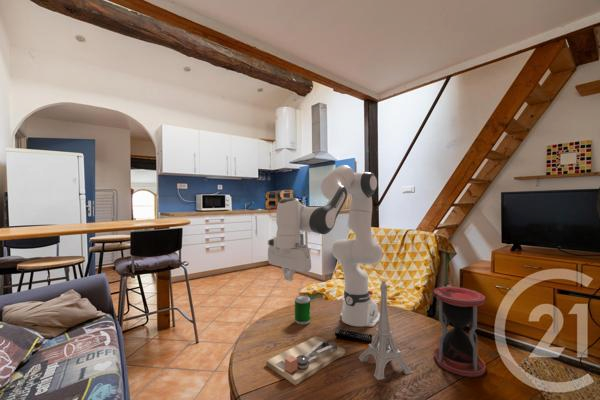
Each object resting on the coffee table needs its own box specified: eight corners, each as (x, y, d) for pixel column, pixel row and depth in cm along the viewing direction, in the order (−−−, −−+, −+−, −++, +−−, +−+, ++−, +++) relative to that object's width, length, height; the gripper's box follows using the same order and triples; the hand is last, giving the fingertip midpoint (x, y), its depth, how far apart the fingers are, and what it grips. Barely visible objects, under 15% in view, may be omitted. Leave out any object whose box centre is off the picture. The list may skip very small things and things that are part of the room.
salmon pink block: (291, 365, 95) (291, 355, 95) (297, 369, 93) (297, 358, 93) (284, 369, 93) (284, 358, 93) (290, 373, 90) (290, 362, 90)
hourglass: (460, 348, 109) (459, 284, 109) (497, 373, 93) (497, 298, 93) (424, 353, 106) (423, 287, 106) (456, 380, 90) (456, 302, 90)
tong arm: (303, 369, 92) (303, 363, 92) (294, 365, 95) (294, 359, 95) (329, 345, 108) (329, 339, 108) (320, 342, 110) (320, 337, 110)
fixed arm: (300, 371, 92) (300, 364, 92) (292, 365, 96) (292, 358, 96) (340, 352, 103) (340, 346, 103) (331, 347, 107) (331, 341, 107)
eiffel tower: (377, 380, 90) (377, 287, 90) (358, 358, 103) (357, 277, 103) (412, 373, 94) (412, 284, 94) (389, 352, 107) (389, 274, 107)
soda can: (309, 326, 129) (309, 300, 129) (293, 324, 130) (293, 299, 131) (311, 319, 136) (311, 295, 136) (296, 318, 138) (296, 294, 138)
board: (315, 339, 116) (315, 335, 116) (345, 353, 106) (345, 349, 106) (266, 365, 98) (266, 360, 98) (295, 385, 87) (295, 379, 87)
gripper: (315, 244, 97) (315, 284, 97) (277, 238, 111) (277, 273, 111) (302, 246, 92) (302, 288, 92) (264, 240, 107) (264, 276, 107)
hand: (288, 280), depth 102 cm, fingers closed
